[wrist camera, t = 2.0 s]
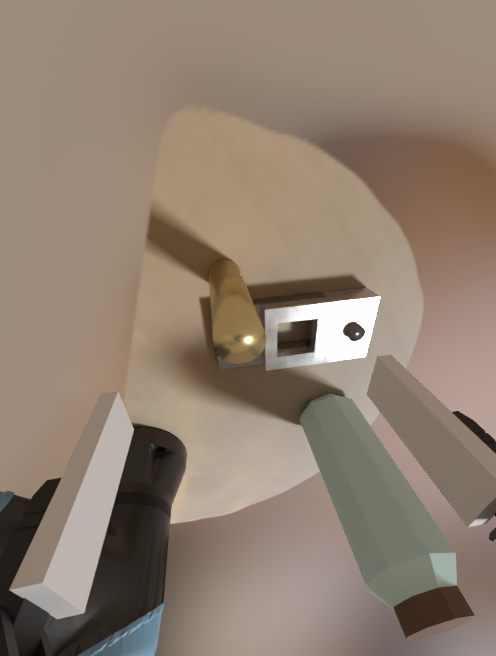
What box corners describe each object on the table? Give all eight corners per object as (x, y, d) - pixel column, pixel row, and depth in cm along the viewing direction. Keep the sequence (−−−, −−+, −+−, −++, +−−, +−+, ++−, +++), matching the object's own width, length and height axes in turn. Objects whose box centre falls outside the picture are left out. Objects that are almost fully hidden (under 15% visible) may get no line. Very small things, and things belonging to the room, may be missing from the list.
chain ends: (218, 362, 35) (220, 381, 32) (210, 304, 30) (211, 318, 27) (354, 344, 37) (368, 360, 34) (366, 287, 33) (383, 299, 30)
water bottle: (300, 392, 41) (408, 627, 19) (358, 386, 42) (517, 599, 21) (294, 432, 46) (373, 653, 25) (345, 426, 47) (462, 630, 26)
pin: (210, 290, 30) (216, 366, 18) (206, 260, 28) (210, 322, 16) (241, 287, 30) (266, 360, 18) (239, 257, 28) (266, 315, 16)
